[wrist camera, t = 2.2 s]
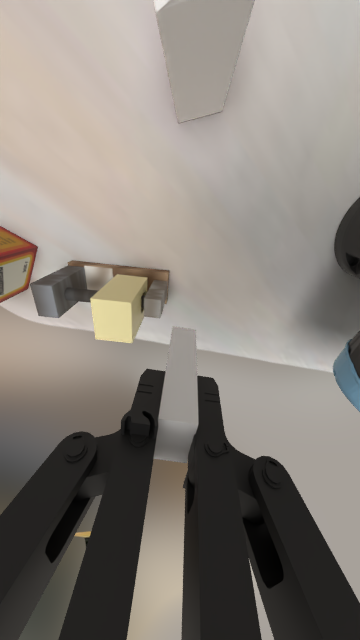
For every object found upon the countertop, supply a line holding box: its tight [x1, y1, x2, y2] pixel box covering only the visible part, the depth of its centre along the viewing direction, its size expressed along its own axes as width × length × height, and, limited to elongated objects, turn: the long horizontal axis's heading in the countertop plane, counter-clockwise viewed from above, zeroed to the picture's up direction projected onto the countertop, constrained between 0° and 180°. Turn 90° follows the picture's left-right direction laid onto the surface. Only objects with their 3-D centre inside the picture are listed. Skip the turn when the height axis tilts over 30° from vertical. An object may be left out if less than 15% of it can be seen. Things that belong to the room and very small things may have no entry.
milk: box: [154, 0, 255, 123], centre depth 17 cm, size 6×6×22 cm
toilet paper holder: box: [30, 261, 169, 318], centre depth 35 cm, size 18×6×12 cm, turn 85°
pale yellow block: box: [90, 274, 148, 343], centre depth 31 cm, size 5×6×10 cm
